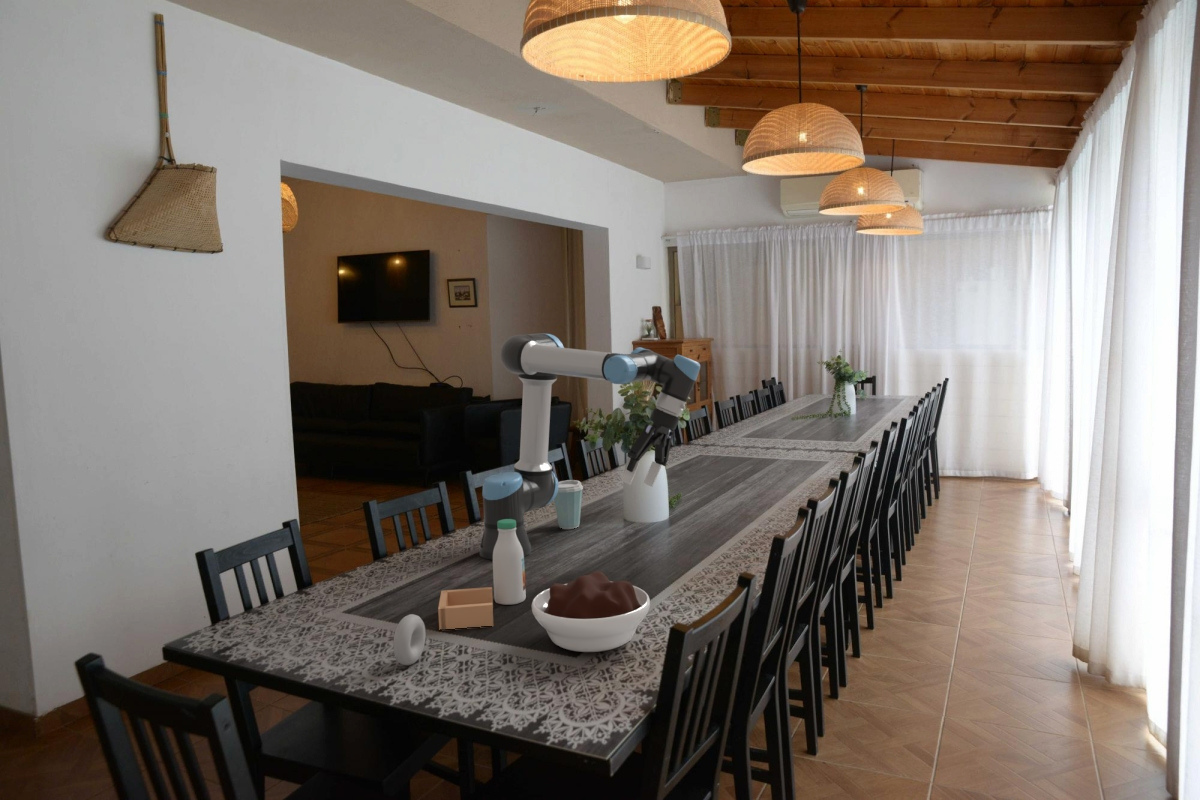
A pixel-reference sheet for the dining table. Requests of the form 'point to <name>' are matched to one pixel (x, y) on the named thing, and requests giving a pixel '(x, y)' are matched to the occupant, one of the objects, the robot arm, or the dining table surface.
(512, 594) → the milk bottle
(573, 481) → the disposable coffee cup
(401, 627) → the donut
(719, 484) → the dining table surface
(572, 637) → the bowl of chocolate pudding
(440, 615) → the box
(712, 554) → the dining table surface
